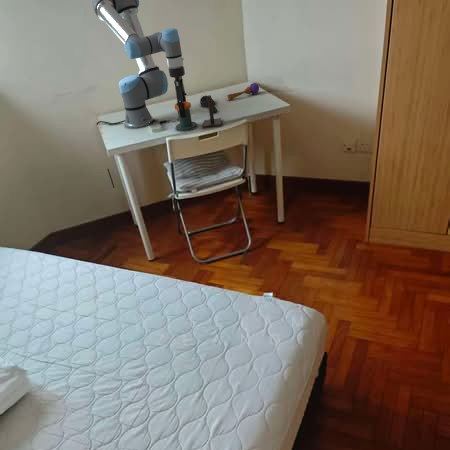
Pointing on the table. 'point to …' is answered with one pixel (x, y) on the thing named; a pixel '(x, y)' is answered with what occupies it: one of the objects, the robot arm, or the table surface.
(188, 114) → the stand
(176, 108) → the ring
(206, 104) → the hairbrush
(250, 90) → the kendama
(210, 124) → the post
